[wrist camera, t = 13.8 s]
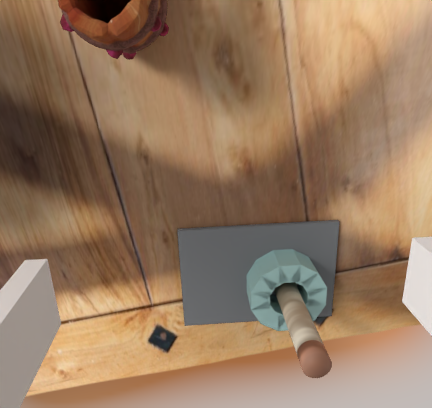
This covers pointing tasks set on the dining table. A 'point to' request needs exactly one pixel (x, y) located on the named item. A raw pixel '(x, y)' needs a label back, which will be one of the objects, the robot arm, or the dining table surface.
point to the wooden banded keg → (116, 23)
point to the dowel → (303, 331)
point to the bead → (278, 274)
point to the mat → (245, 265)
